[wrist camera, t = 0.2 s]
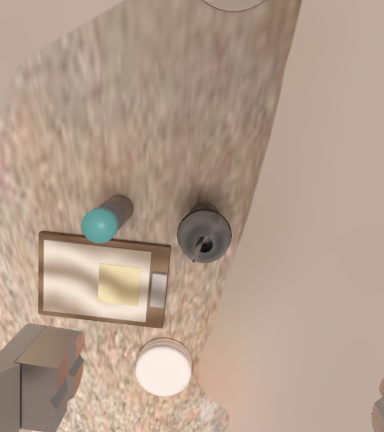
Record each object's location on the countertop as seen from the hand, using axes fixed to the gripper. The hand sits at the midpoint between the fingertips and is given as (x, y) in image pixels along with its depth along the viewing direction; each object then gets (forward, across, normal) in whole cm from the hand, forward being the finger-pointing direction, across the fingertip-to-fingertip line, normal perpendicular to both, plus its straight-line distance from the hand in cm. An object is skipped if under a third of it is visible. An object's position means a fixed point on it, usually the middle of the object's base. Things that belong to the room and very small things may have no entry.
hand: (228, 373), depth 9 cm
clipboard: (+47, +16, +21) cm, 54 cm away
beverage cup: (+48, +1, +8) cm, 48 cm away
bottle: (+47, +15, +8) cm, 50 cm away
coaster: (+48, +4, +36) cm, 60 cm away
